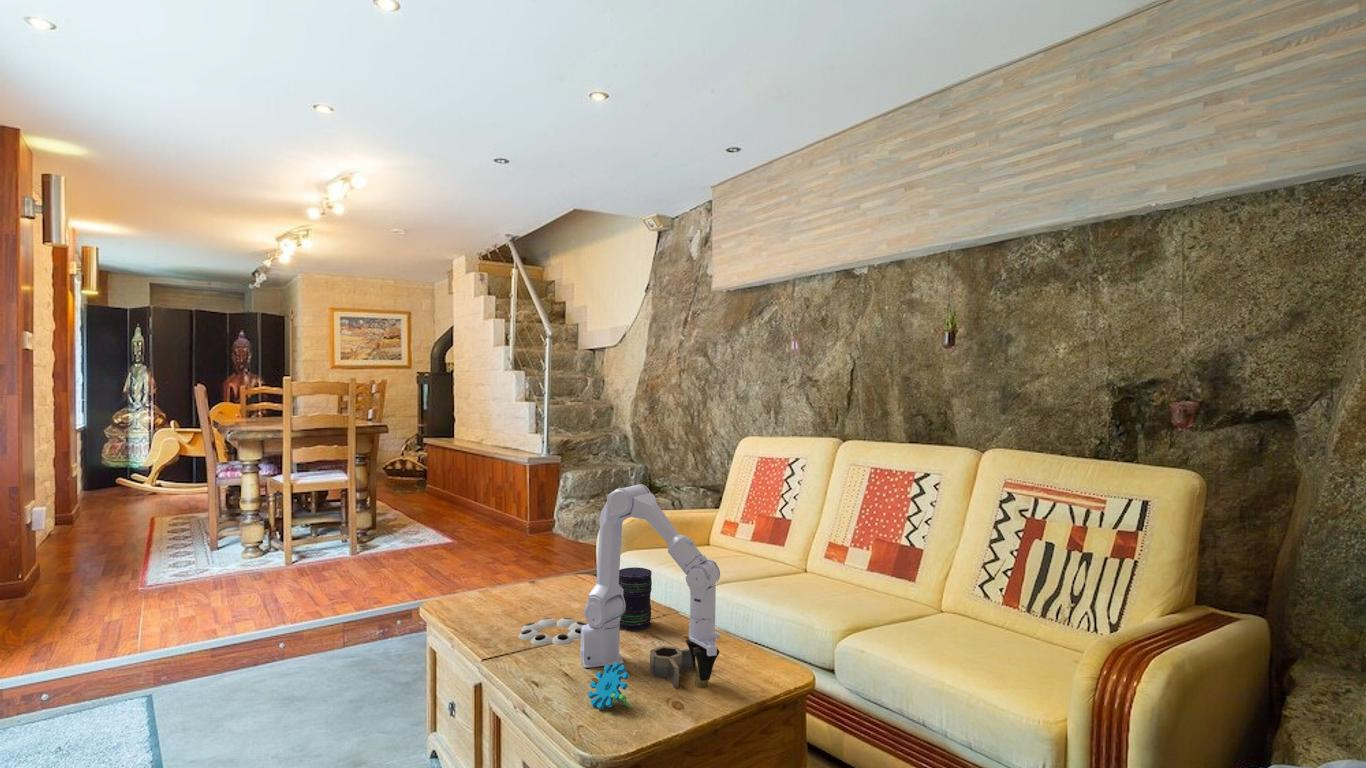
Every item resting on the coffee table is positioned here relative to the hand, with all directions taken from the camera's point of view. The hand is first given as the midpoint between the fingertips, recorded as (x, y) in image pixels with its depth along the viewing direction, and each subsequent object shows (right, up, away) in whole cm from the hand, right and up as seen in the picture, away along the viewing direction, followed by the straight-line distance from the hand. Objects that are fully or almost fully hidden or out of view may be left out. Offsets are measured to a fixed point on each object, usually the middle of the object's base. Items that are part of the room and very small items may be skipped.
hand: (701, 675), depth 155 cm
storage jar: (-18, -2, +37) cm, 42 cm away
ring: (-39, -2, +31) cm, 50 cm away
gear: (-20, -2, -10) cm, 22 cm away
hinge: (-5, -2, +5) cm, 7 cm away
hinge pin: (0, -2, 0) cm, 2 cm away
